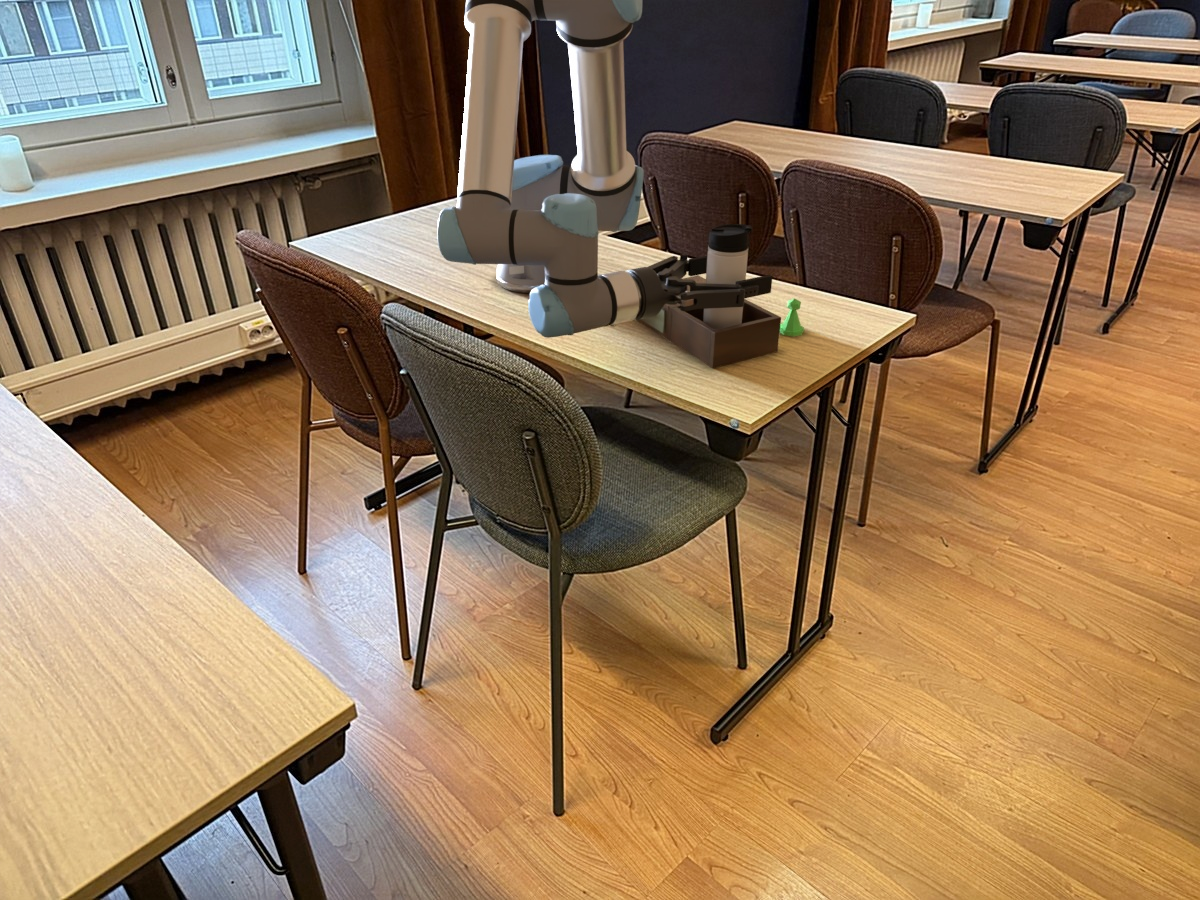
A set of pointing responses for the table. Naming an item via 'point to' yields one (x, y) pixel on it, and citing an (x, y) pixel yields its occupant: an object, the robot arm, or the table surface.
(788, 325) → the game piece
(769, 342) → the storage box
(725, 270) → the travel mug
